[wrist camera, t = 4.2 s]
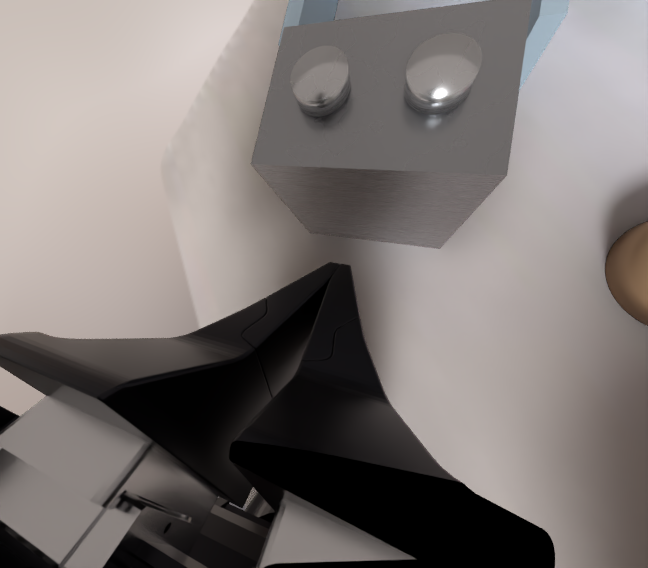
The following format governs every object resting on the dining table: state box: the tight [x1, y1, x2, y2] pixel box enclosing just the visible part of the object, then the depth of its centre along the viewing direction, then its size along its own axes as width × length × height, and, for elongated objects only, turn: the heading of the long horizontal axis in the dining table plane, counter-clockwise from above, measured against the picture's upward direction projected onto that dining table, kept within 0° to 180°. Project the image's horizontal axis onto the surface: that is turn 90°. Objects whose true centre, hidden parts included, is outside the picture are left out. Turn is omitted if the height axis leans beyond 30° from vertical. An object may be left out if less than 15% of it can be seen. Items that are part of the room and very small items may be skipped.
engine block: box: [251, 0, 532, 249], centre depth 13 cm, size 13×10×10 cm
